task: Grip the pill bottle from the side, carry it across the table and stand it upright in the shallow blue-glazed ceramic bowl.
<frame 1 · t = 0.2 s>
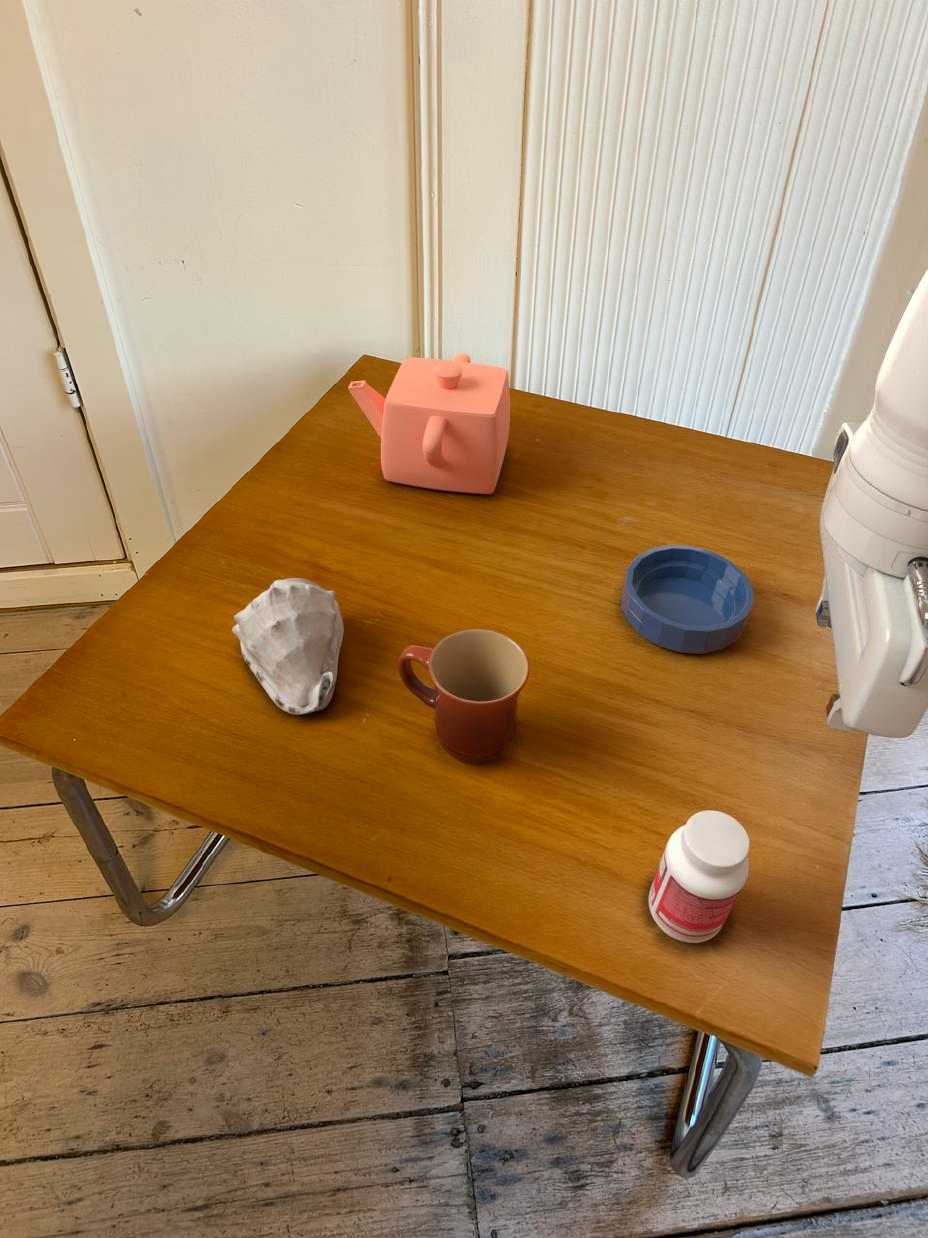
hand: (832, 668, 59), 22 cm above the table, tool pointing down, fingers open, 8 cm apart
seashell: (308, 661, 88), on the table
mug: (458, 732, 82), on the table
teapot: (428, 463, 113), on the table
pill bottle: (684, 910, 70), on the table
bowl: (681, 612, 95), on the table
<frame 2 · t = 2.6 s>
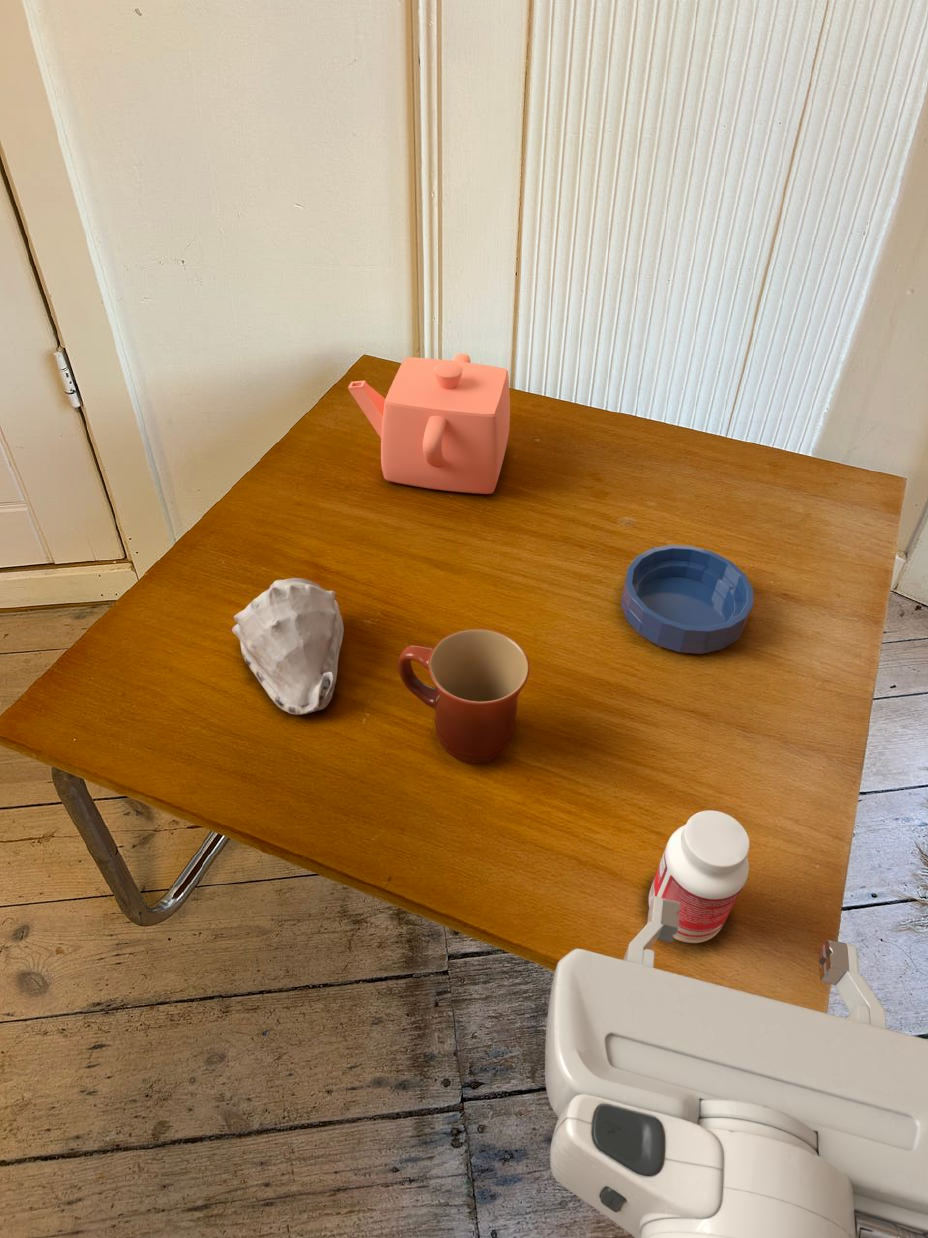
hand: (749, 924, 48), 20 cm above the table, tool horizontal, fingers open, 8 cm apart
nothing on the table moved.
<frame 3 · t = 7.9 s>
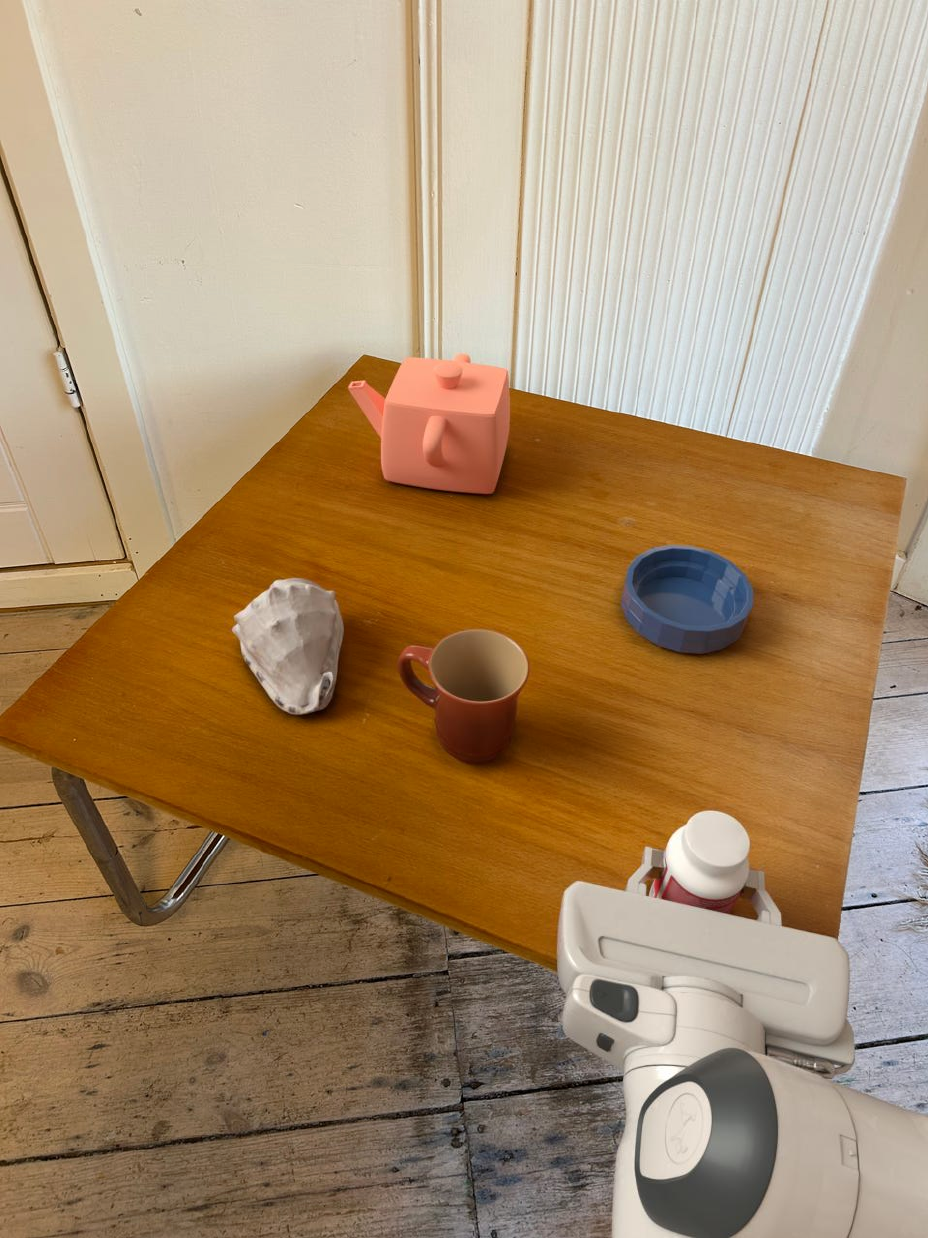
hand: (701, 862, 66), 6 cm above the table, tool horizontal, fingers closed on pill bottle, 6 cm apart
pill bottle: (684, 910, 70), on the table, touching gripper
everything else where it was.
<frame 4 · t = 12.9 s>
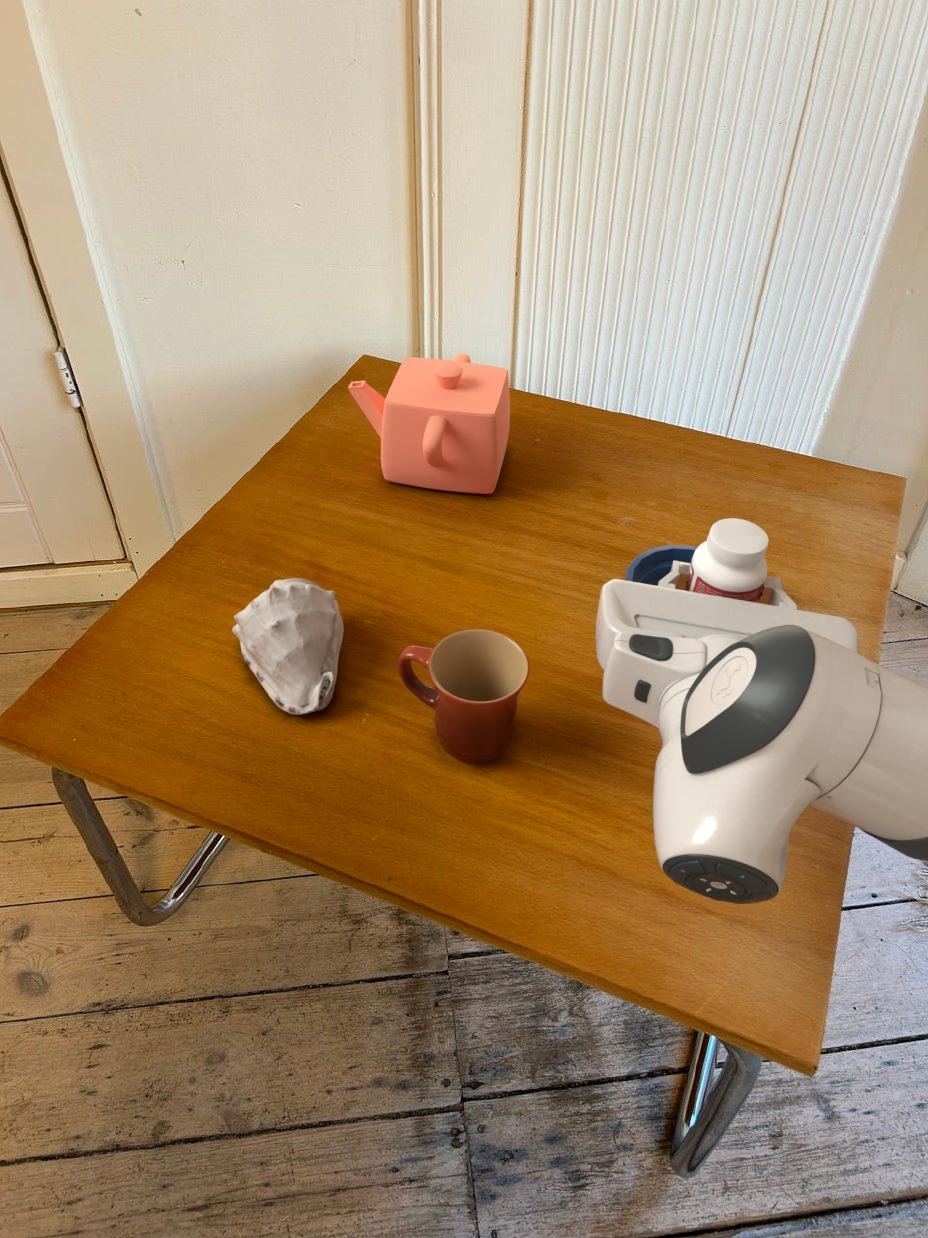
hand: (723, 574, 74), 17 cm above the table, tool horizontal, fingers closed on pill bottle, 6 cm apart
pill bottle: (707, 632, 77), point 11 cm above the table, touching gripper
everything else where it was.
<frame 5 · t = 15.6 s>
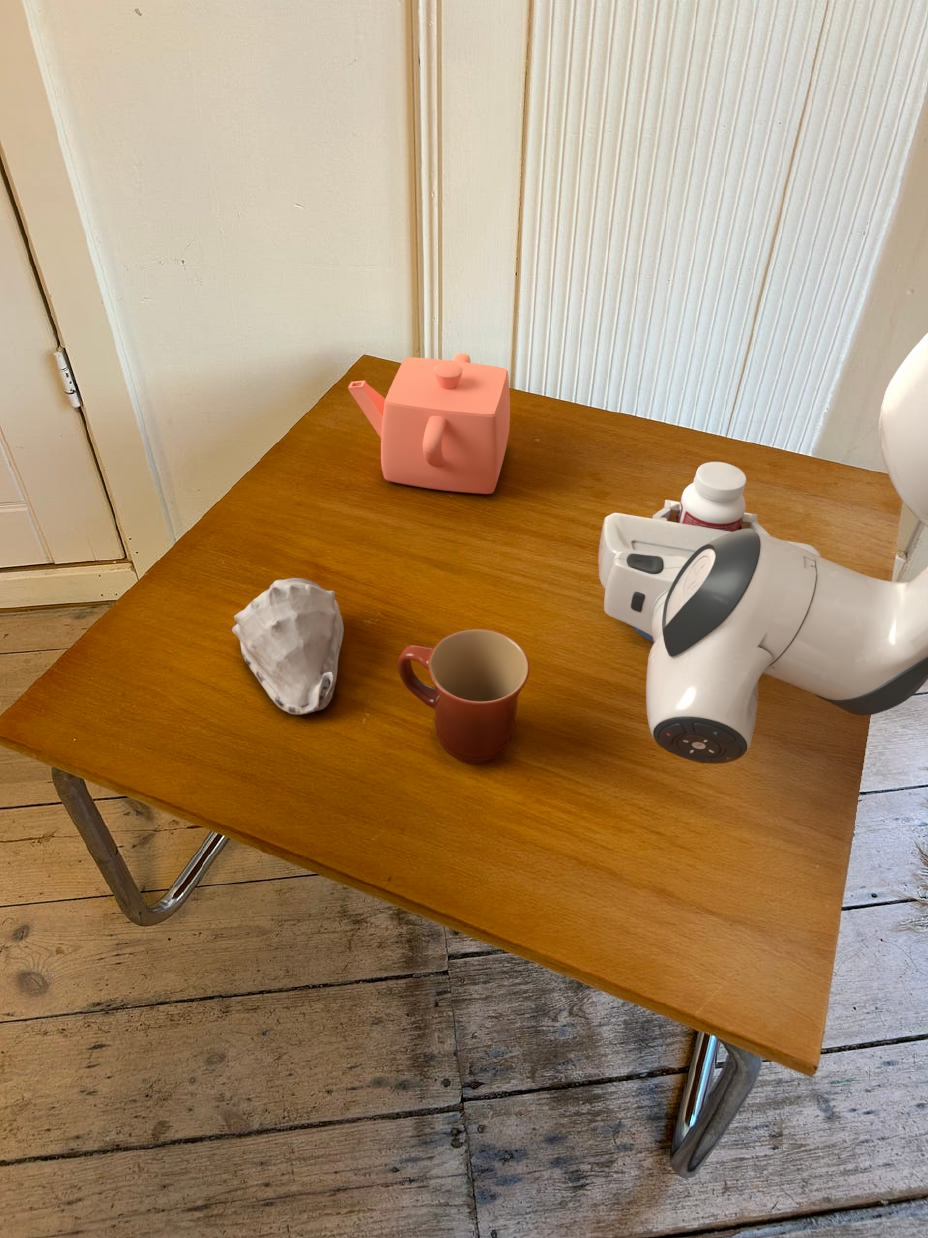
hand: (708, 511, 86), 13 cm above the table, tool horizontal, fingers closed on pill bottle, 6 cm apart
pill bottle: (694, 564, 89), point 7 cm above the table, touching gripper
everything else where it was.
when the fingers open (7 cm above the table, at t = 18.0 s): pill bottle stays where it is, resting on bowl.
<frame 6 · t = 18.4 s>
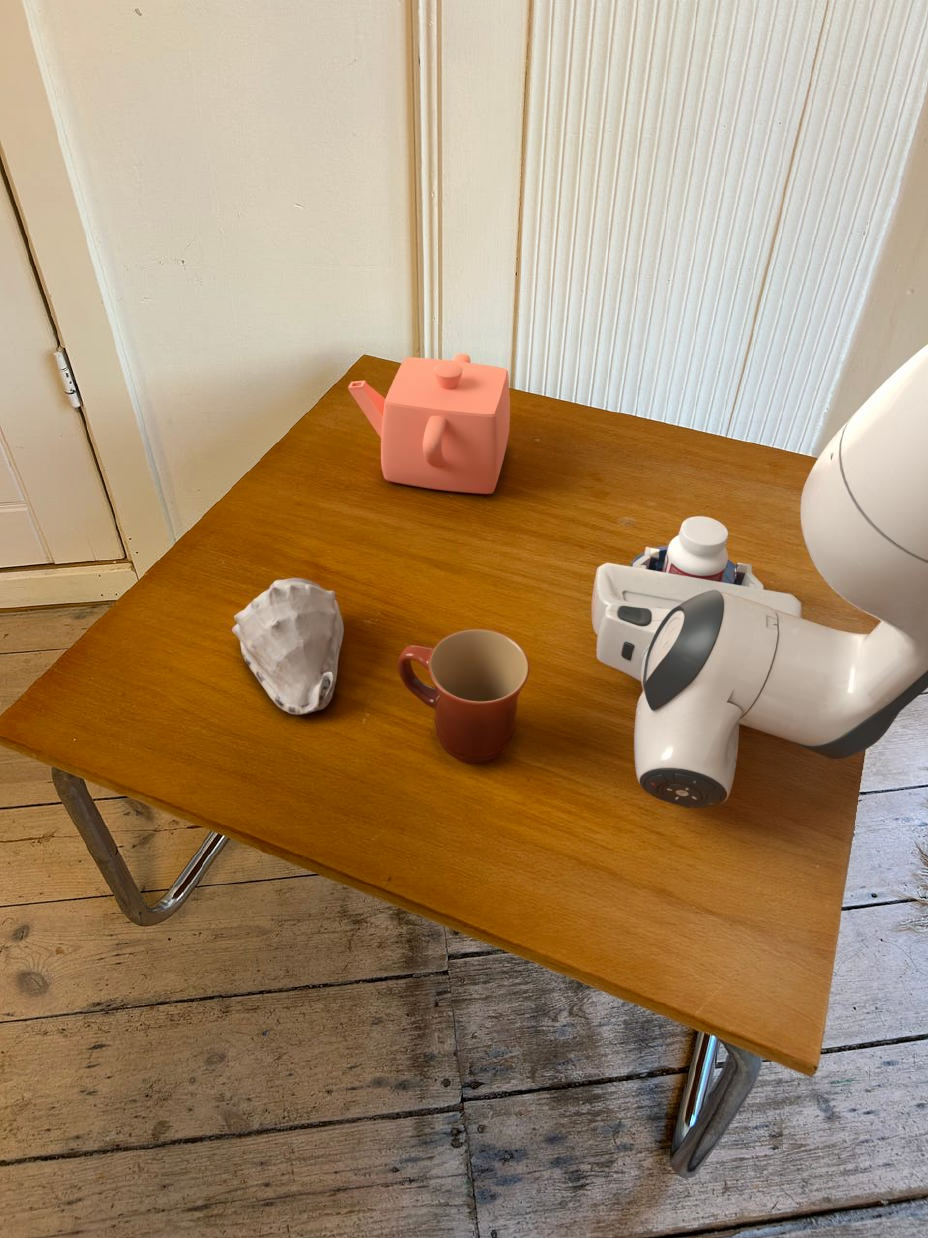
hand: (696, 559, 90), 7 cm above the table, tool horizontal, fingers open, 8 cm apart
pill bottle: (681, 610, 94), resting on bowl
everything else where it was.
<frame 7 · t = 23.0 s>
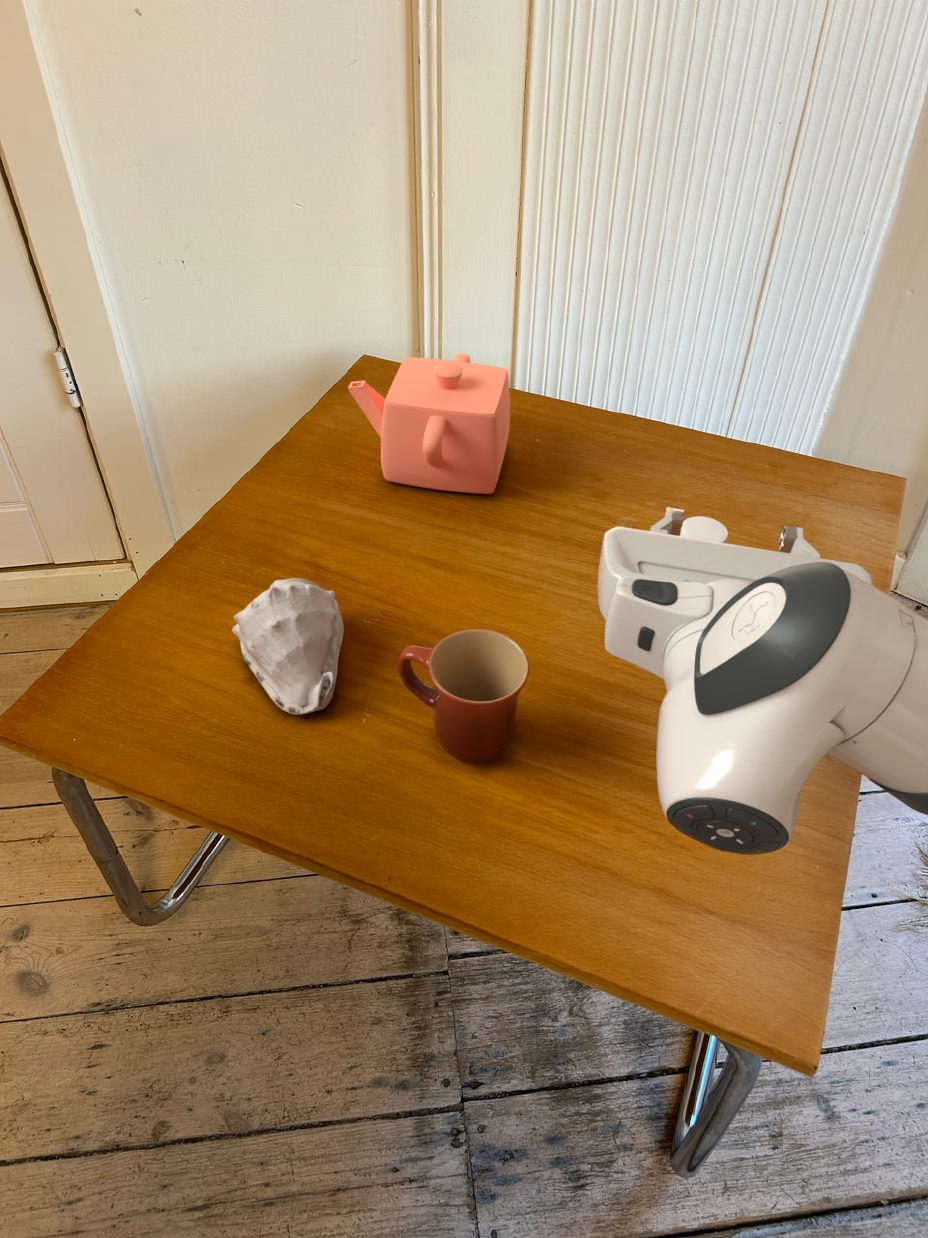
hand: (731, 523, 71), 22 cm above the table, tool horizontal, fingers open, 8 cm apart
nothing on the table moved.
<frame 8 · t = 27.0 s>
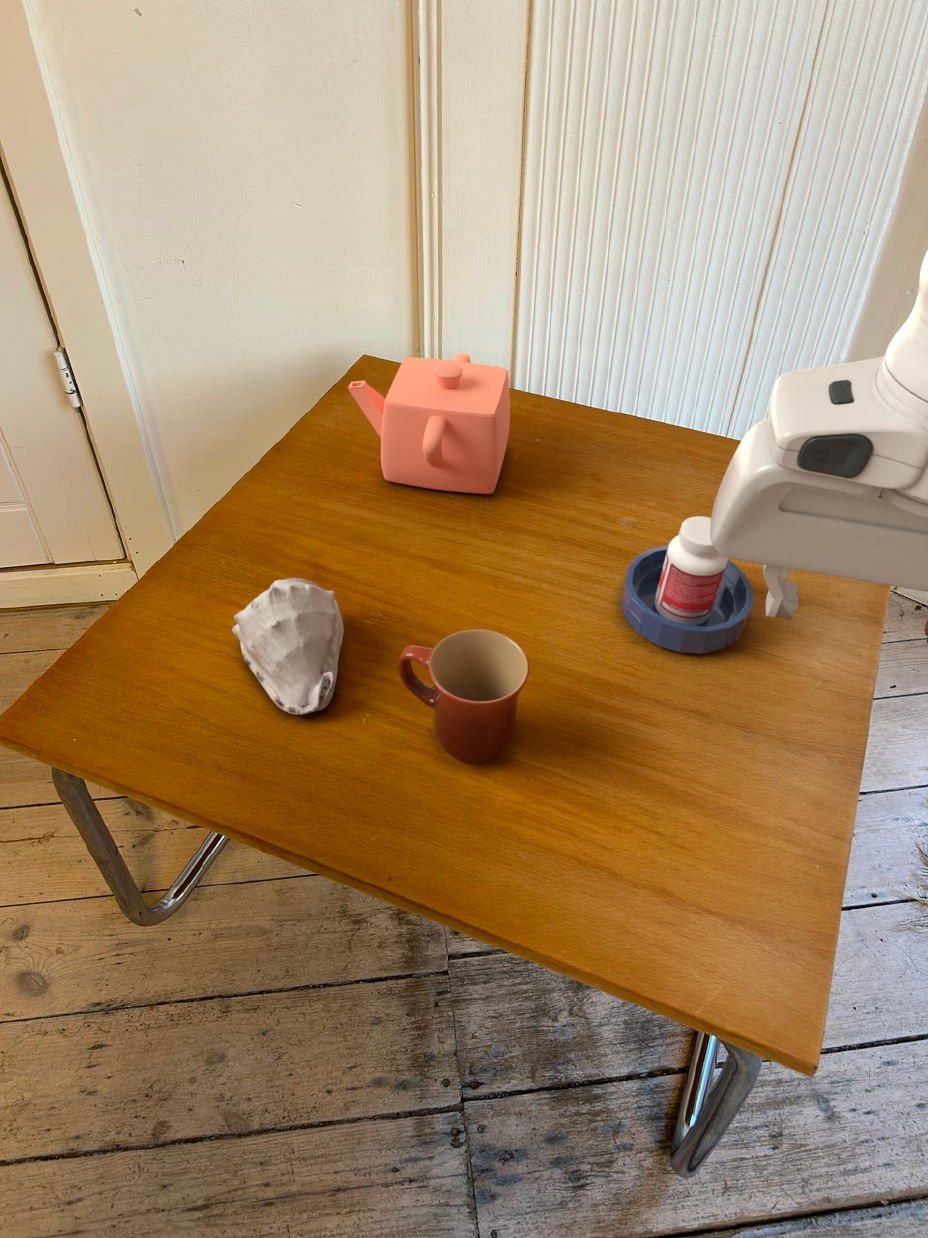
hand: (856, 625, 52), 29 cm above the table, tool pointing down, fingers open, 8 cm apart
nothing on the table moved.
at the end: pill bottle 0.1 cm off-centre in the bowl, point 0.4 cm above the bowl's base; pill bottle tilted 0°; the gripper is holding nothing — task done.
